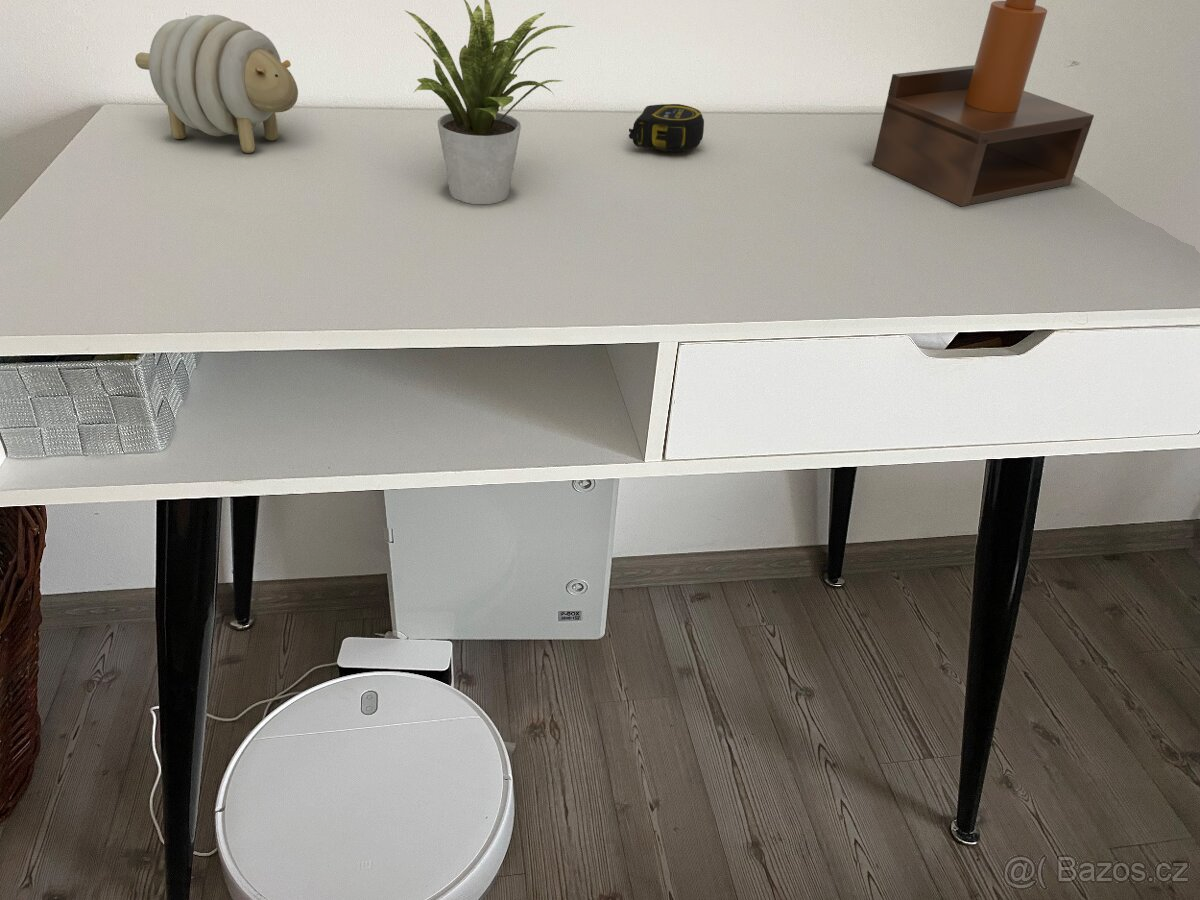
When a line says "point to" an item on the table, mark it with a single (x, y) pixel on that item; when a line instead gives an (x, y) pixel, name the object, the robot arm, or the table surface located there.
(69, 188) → the table surface
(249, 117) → the toy sheep
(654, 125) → the tape measure
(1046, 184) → the box
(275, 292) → the table surface
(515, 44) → the house plant
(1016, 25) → the bottle
